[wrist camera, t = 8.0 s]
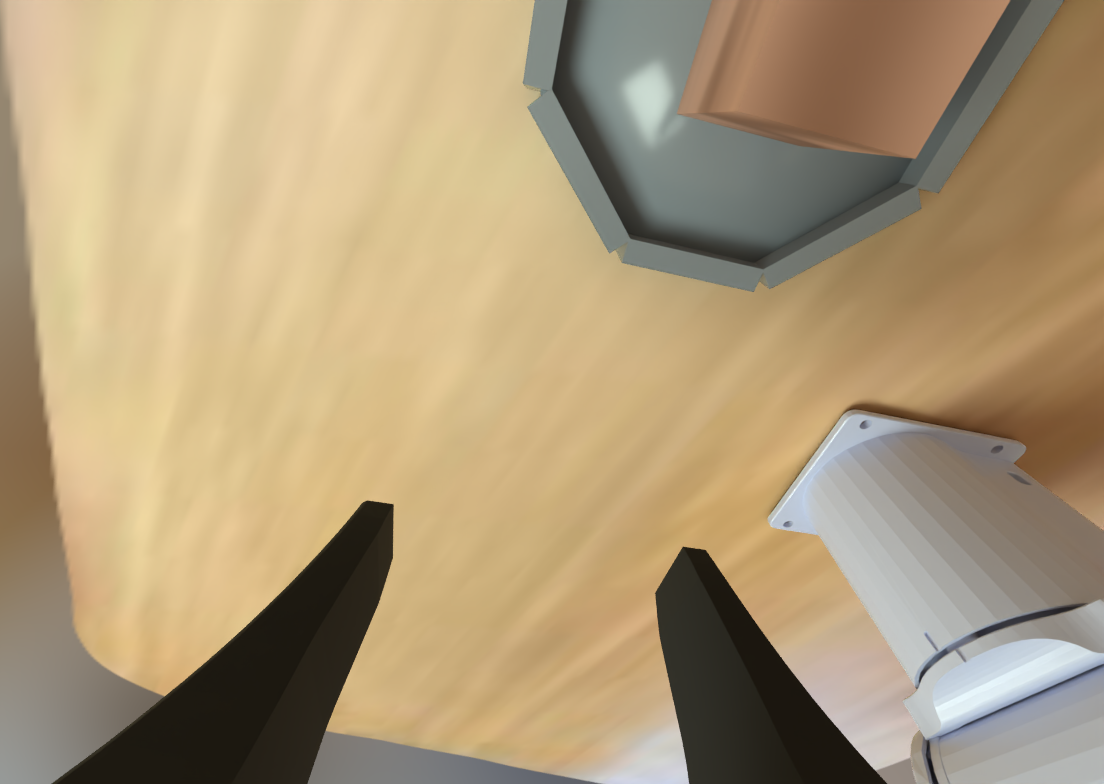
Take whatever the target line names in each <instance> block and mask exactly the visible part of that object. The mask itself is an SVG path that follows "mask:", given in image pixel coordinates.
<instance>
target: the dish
mask: <svg viewBox="0 0 1104 784" xmlns="http://www.w3.org/2000/svg"><path fill="white" fill-rule="evenodd" d="M1063 1H1064V0H1010V2H1009V4H1008V5H1007V7H1006V9H1005V10H1004V12H1003V14H1002V15H1001V17H1000V19H999V20H998V22H997V24H996V25H995V27H994V29H993V30H992V32H991V34H990V35H989V37H988V39H987V40H986V42H985V44H984V45H983V47H982V49H981V50H980V52H979V54H978V55H977V57H976V59H975V60H974V62H973V64H972V65H971V67H970V69H969V70H968V72H967V74H966V76H965V77H964V79H963V81H962V82H961V84H960V86H959V87H958V89H957V91H956V92H955V94H954V96H953V97H952V99H951V101H950V102H949V104H948V106H947V107H946V109H945V111H944V112H943V114H942V116H941V117H940V119H939V121H938V122H937V124H936V126H935V127H934V129H933V131H932V132H931V134H930V136H929V137H928V139H927V141H926V142H925V144H924V146H923V147H922V149H921V151H920V152H919V154H918V156H917V157H916V159H913V158H904V157H895V156H885V155H876V154H867V153H858V152H849V151H840V150H830V149H821V148H812V147H803V146H797V145H793V144H789V143H785V142H782V141H778V140H774V139H770V138H766V137H763V136H759V135H755V134H751V133H747V132H744V131H740V130H736V129H732V128H728V127H724V126H721V125H717V124H713V123H709V122H705V121H702V120H698V119H694V118H690V117H686V116H683V115H679V114H677V111H678V108H679V105H680V102H681V98H682V95H683V92H684V89H685V85H686V82H687V79H688V76H689V73H690V69H691V66H692V63H693V60H694V57H695V53H696V50H697V47H698V44H699V40H700V37H701V34H702V31H703V28H704V24H705V21H706V18H707V15H708V12H709V8H710V5H711V2H712V0H535V3H534V10H533V17H532V24H531V31H530V38H529V45H528V52H527V59H526V66H525V73H524V80H523V84H524V86H525V87H526V88H529V89H532V90H536V91H540V92H541V97H539V98H538V99H537V100H536V101H534V102H533V103H532V104H530V105H529V106H528V107H527V108H528V109H529V111H530V113H531V115H532V116H533V118H534V120H535V122H536V124H537V125H538V127H539V129H540V131H541V133H542V134H543V136H544V138H545V140H546V141H547V143H548V145H549V147H550V149H551V150H552V152H553V154H554V156H555V157H556V159H557V161H558V163H559V165H560V166H561V168H562V170H563V172H564V173H565V175H566V177H567V179H568V181H569V182H570V184H571V186H572V188H573V190H574V191H575V193H576V195H577V197H578V198H579V200H580V202H581V204H582V206H583V207H584V209H585V211H586V213H587V214H588V216H589V218H590V220H591V222H592V223H593V225H594V227H595V229H596V230H597V232H598V234H599V236H600V238H601V239H602V241H603V243H604V245H605V247H606V248H607V250H608V252H609V253H611V252H612V251H614V250H616V252H617V254H618V256H619V258H620V260H621V262H622V263H625V264H630V265H634V266H639V267H643V268H648V269H652V270H657V271H661V272H666V273H670V274H675V275H679V276H684V277H688V278H693V279H697V280H702V281H706V282H711V283H715V284H720V285H724V286H729V287H733V288H738V289H742V290H747V291H751V292H754V290H755V288H756V286H757V284H758V282H759V281H760V282H761V283H762V284H764V285H765V286H766V287H767V288H769V289H771V288H773V287H775V286H777V285H778V284H780V283H782V282H784V281H786V280H788V279H790V278H792V277H794V276H795V275H797V274H799V273H801V272H803V271H805V270H807V269H809V268H811V267H812V266H814V265H816V264H818V263H820V262H822V261H824V260H826V259H828V258H829V257H831V256H833V255H835V254H837V253H839V252H841V251H843V250H845V249H846V248H848V247H850V246H852V245H854V244H856V243H858V242H860V241H862V240H863V239H865V238H867V237H869V236H871V235H873V234H875V233H877V232H879V231H880V230H882V229H884V228H886V227H888V226H890V225H892V224H894V223H896V222H897V221H899V220H901V219H903V218H905V217H907V216H909V215H911V214H913V213H914V212H916V211H918V210H920V209H921V203H920V197H919V190H923V191H928V192H934V193H939V192H940V190H941V189H942V187H943V185H944V184H945V182H946V181H947V179H948V178H949V176H950V175H951V173H952V172H953V170H954V169H955V167H956V166H957V164H958V162H959V161H960V159H961V158H962V156H963V155H964V153H965V152H966V150H967V149H968V147H969V146H970V144H971V143H972V141H973V139H974V138H975V136H976V135H977V133H978V132H979V130H980V129H981V127H982V126H983V124H984V123H985V121H986V119H987V118H988V116H989V115H990V113H991V112H992V110H993V109H994V107H995V106H996V104H997V103H998V101H999V100H1000V98H1001V96H1002V95H1003V93H1004V92H1005V90H1006V89H1007V87H1008V86H1009V84H1010V83H1011V81H1012V80H1013V78H1014V77H1015V75H1016V73H1017V72H1018V70H1019V69H1020V67H1021V66H1022V64H1023V63H1024V61H1025V60H1026V58H1027V57H1028V55H1029V54H1030V52H1031V50H1032V49H1033V47H1034V46H1035V44H1036V43H1037V41H1038V40H1039V38H1040V37H1041V35H1042V34H1043V32H1044V30H1045V29H1046V27H1047V26H1048V24H1049V23H1050V21H1051V20H1052V18H1053V17H1054V15H1055V14H1056V12H1057V11H1058V9H1059V7H1060V6H1061V4H1062V3H1063Z"/></svg>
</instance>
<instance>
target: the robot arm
mask: <svg viewBox="0 0 1104 784" xmlns="http://www.w3.org/2000/svg"><path fill="white" fill-rule="evenodd" d="M865 420H866V421H865ZM863 421H864V422H863ZM862 422H863V423H862ZM1025 451H1026V446H1025V445H1023V444H1022V443H1021V442H1019V441H1017V440H1012V439H1007V438H1002V437H996V436H991V435H986V434H981V433H976V432H971V431H966V430H960V429H955V428H950V427H945V426H940V425H935V424H929V423H924V422H919V421H914V420H909V419H904V418H899V417H893V416H888V415H883V414H878V413H873V412H868V411H863V410H850V411H848V412H846V413H845V414H844V415H843V416H842V417H841V418H840V419H839V421H838V422H837V424H836V425H835V426H834V428H833V429H832V430H831V432H830V433H829V435H828V436H827V437H826V439H825V440H824V441H823V443H822V444H821V446H820V447H819V448H818V450H817V451H816V452H815V454H814V455H813V456H812V458H811V459H810V461H809V462H808V463H807V465H806V466H805V467H804V469H803V470H802V472H801V473H800V474H799V476H798V477H797V478H796V480H795V481H794V483H793V484H792V485H791V487H790V488H789V489H788V491H787V492H786V493H785V495H784V496H783V498H782V499H781V500H780V502H779V503H778V504H777V506H776V507H775V509H774V510H773V511H772V513H771V514H770V515H769V517H768V522H769V524H770V526H771V527H773V528H777V529H783V530H790V531H796V532H803V533H809V534H816V535H819V536H820V538H821V540H822V541H823V543H824V544H825V546H826V547H827V549H828V551H829V552H830V554H831V555H832V557H833V558H834V560H835V562H836V563H837V565H838V566H839V568H840V569H841V571H842V573H843V574H844V576H845V577H846V579H847V580H848V582H849V584H850V585H851V587H852V588H853V590H854V591H855V593H856V595H857V596H858V598H859V599H860V601H861V602H862V604H863V606H864V607H865V609H866V610H867V612H868V613H869V615H870V617H871V618H872V620H873V621H874V623H875V624H876V626H877V628H878V629H879V631H880V632H881V634H882V635H883V637H884V639H885V640H886V642H887V643H888V645H889V646H890V648H891V650H892V651H893V653H894V654H895V656H896V657H897V659H898V661H899V662H900V664H901V665H902V667H903V668H904V670H905V672H906V673H907V675H908V676H909V678H910V679H911V681H912V682H913V684H914V686H915V687H916V689H917V690H916V691H915V692H914V693H913V694H912V695H910V696H909V697H907V698H905V699H904V700H903V703H904V704H905V706H906V708H907V709H908V711H909V713H910V714H911V716H912V718H913V719H914V721H915V723H916V724H917V726H918V728H919V729H920V730H919V731H918V732H917V733H916V734H915V736H914V737H913V740H912V743H911V763H912V770H913V774H914V778H915V781H916V784H1104V531H1103V530H1102V529H1100V528H1099V527H1098V526H1096V525H1095V524H1094V523H1092V522H1091V521H1090V520H1088V519H1087V518H1086V517H1084V516H1083V515H1082V514H1080V513H1079V512H1078V511H1076V510H1075V509H1074V508H1072V507H1071V506H1070V505H1068V504H1067V503H1066V502H1064V501H1063V500H1062V499H1060V498H1059V497H1058V496H1056V495H1055V494H1054V493H1052V492H1051V491H1050V490H1048V489H1047V488H1046V487H1044V486H1043V485H1042V484H1040V483H1039V482H1038V481H1036V480H1035V479H1034V478H1032V477H1031V476H1030V475H1028V474H1027V473H1026V472H1024V471H1023V470H1022V469H1020V468H1019V467H1018V466H1016V465H1015V464H1014V462H1015V461H1016V460H1018V459H1019V458H1020V457H1021V456H1022V455H1023V454H1024V453H1025ZM393 507H394V504H387V503H381V502H374V501H365V502H363V503H362V504H361V505H360V507H359V508H358V509H357V510H356V512H355V513H354V514H353V515H352V516H351V518H350V519H349V520H348V521H347V522H346V524H345V525H344V526H343V527H342V528H341V529H340V531H339V532H338V533H337V534H336V535H335V536H334V537H333V539H332V540H331V541H330V542H329V543H328V544H327V545H326V546H325V547H324V549H323V550H322V551H321V552H320V553H319V554H318V555H317V556H316V557H315V558H314V559H313V560H312V561H311V562H310V563H309V564H308V566H307V567H306V568H305V569H304V570H303V571H302V572H301V573H300V574H299V575H298V576H297V577H296V578H295V579H294V580H293V581H292V582H291V583H290V584H289V585H288V586H287V587H286V588H285V589H284V590H283V591H282V592H281V593H280V594H279V595H278V596H277V597H276V598H275V599H274V600H273V601H272V602H271V603H270V604H269V605H268V606H267V607H266V608H265V609H264V610H263V611H262V612H260V613H259V614H258V615H257V616H256V617H255V618H254V619H253V620H252V621H251V622H250V623H249V624H248V625H247V626H246V627H245V628H244V629H243V630H241V631H240V632H239V633H238V634H237V635H236V636H235V637H234V638H233V639H232V640H230V641H229V642H228V643H227V644H226V645H225V646H224V647H223V648H222V649H220V650H219V651H218V652H217V653H216V654H215V655H214V656H212V657H211V658H210V659H209V660H208V661H207V662H205V663H204V664H203V665H202V666H201V667H200V668H198V669H197V670H196V671H195V672H194V673H193V674H192V675H190V676H189V677H188V678H187V679H186V680H184V681H183V682H182V683H181V684H179V685H178V686H177V687H176V688H175V689H173V690H172V691H171V692H170V693H168V694H167V695H166V696H165V697H164V698H162V699H161V700H160V701H159V702H157V703H156V704H155V705H154V706H153V707H151V708H150V709H149V710H148V711H146V712H145V713H144V714H143V715H141V716H140V717H139V718H138V719H137V720H135V721H134V722H133V723H132V724H130V725H129V726H128V727H126V728H125V729H124V730H123V731H121V732H120V733H119V734H117V735H116V736H115V737H114V738H112V739H111V740H110V741H109V742H107V743H106V744H105V745H103V746H102V747H100V748H99V749H98V750H96V751H95V752H94V753H92V754H91V755H90V756H88V757H87V758H86V759H84V760H83V761H82V762H80V763H79V764H78V765H76V766H75V767H74V768H72V769H71V770H69V771H68V772H67V773H65V774H64V775H63V776H61V777H60V778H59V779H58V780H56V781H55V782H53V783H52V784H307V783H308V780H309V777H310V774H311V771H312V768H313V765H314V762H315V759H316V756H317V753H318V750H319V748H320V744H321V742H322V739H323V735H324V733H325V730H326V728H327V725H328V722H329V720H330V717H331V715H332V712H333V710H334V707H335V705H336V702H337V700H338V698H339V695H340V693H341V691H342V688H343V686H344V684H345V681H346V679H347V676H348V674H349V672H350V669H351V667H352V665H353V662H354V660H355V658H356V655H357V653H358V651H359V648H360V646H361V644H362V641H363V639H364V637H365V634H366V632H367V629H368V627H369V625H370V622H371V620H372V618H373V615H374V613H375V610H376V608H377V606H378V603H379V600H380V597H381V594H382V591H383V588H384V585H385V582H386V578H387V575H388V572H389V569H390V565H391V562H392V559H393ZM655 594H656V606H657V617H658V626H659V634H660V640H661V645H662V650H663V654H664V659H665V664H666V669H667V673H668V678H669V682H670V687H671V691H672V696H673V700H674V705H675V710H676V714H677V719H678V723H679V728H680V732H681V737H682V742H683V747H684V753H685V758H686V764H687V771H688V778H689V784H887V783H886V782H885V781H884V780H883V779H882V778H881V777H880V775H879V774H878V773H877V772H876V771H875V770H874V769H873V768H872V767H871V766H870V765H869V763H868V762H867V761H866V760H865V759H864V758H863V757H862V756H861V755H860V753H859V752H858V751H857V750H856V749H855V748H854V747H853V745H852V744H851V743H850V742H849V741H848V740H847V738H846V737H845V736H844V735H843V734H842V733H841V731H840V730H839V729H838V728H837V727H836V726H835V725H834V723H833V722H832V721H831V720H830V719H829V718H828V716H827V715H826V714H825V713H824V712H823V710H822V709H821V708H820V707H819V705H818V704H817V703H816V702H815V701H814V699H813V698H812V697H811V696H810V694H809V693H808V692H807V691H806V689H805V688H804V687H803V685H802V684H801V683H800V682H799V680H798V679H797V678H796V676H795V675H794V674H793V673H792V671H791V670H790V669H789V667H788V666H787V665H786V664H785V662H784V661H783V660H782V658H781V657H780V655H779V654H778V653H777V651H776V650H775V649H774V647H773V646H772V645H771V643H770V642H769V641H768V639H767V638H766V636H765V635H764V634H763V632H762V631H761V629H760V628H759V627H758V625H757V624H756V622H755V621H754V620H753V618H752V617H751V615H750V614H749V612H748V611H747V610H746V608H745V607H744V605H743V604H742V602H741V601H740V599H739V598H738V597H737V595H736V594H735V592H734V591H733V589H732V588H731V586H730V585H729V583H728V582H727V580H726V579H725V577H724V576H723V575H722V573H721V572H720V570H719V569H718V567H717V566H716V564H715V563H714V561H713V560H712V558H711V557H710V556H709V554H708V553H707V551H706V550H702V549H695V548H688V547H683V548H682V549H681V551H680V553H679V554H678V556H677V558H676V559H675V561H674V563H673V564H672V566H671V568H670V569H669V571H668V573H667V574H666V576H665V578H664V579H663V581H662V583H661V584H660V586H659V588H658V589H657V591H656V593H655Z"/></svg>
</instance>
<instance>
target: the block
mask: <svg viewBox="0 0 1104 784" xmlns="http://www.w3.org/2000/svg"><path fill="white" fill-rule="evenodd" d="M1009 2H1010V0H712V2H711V5H710V8H709V12H708V15H707V18H706V21H705V24H704V28H703V31H702V34H701V37H700V40H699V44H698V47H697V50H696V53H695V57H694V60H693V63H692V66H691V69H690V73H689V76H688V79H687V82H686V85H685V89H684V92H683V95H682V98H681V102H680V105H679V108H678V111H677V114H679V115H683V116H686V117H690V118H694V119H698V120H702V121H705V122H709V123H713V124H717V125H721V126H724V127H728V128H732V129H736V130H740V131H744V132H747V133H751V134H755V135H759V136H763V137H766V138H770V139H774V140H778V141H782V142H785V143H789V144H793V145H797V146H803V147H812V148H821V149H830V150H840V151H849V152H858V153H867V154H876V155H885V156H895V157H904V158H913V159H916V157H917V156H918V154H919V152H920V151H921V149H922V147H923V146H924V144H925V142H926V141H927V139H928V137H929V136H930V134H931V132H932V131H933V129H934V127H935V126H936V124H937V122H938V121H939V119H940V117H941V116H942V114H943V112H944V111H945V109H946V107H947V106H948V104H949V102H950V101H951V99H952V97H953V96H954V94H955V92H956V91H957V89H958V87H959V86H960V84H961V82H962V81H963V79H964V77H965V76H966V74H967V72H968V70H969V69H970V67H971V65H972V64H973V62H974V60H975V59H976V57H977V55H978V54H979V52H980V50H981V49H982V47H983V45H984V44H985V42H986V40H987V39H988V37H989V35H990V34H991V32H992V30H993V29H994V27H995V25H996V24H997V22H998V20H999V19H1000V17H1001V15H1002V14H1003V12H1004V10H1005V9H1006V7H1007V5H1008V4H1009Z"/></svg>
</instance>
